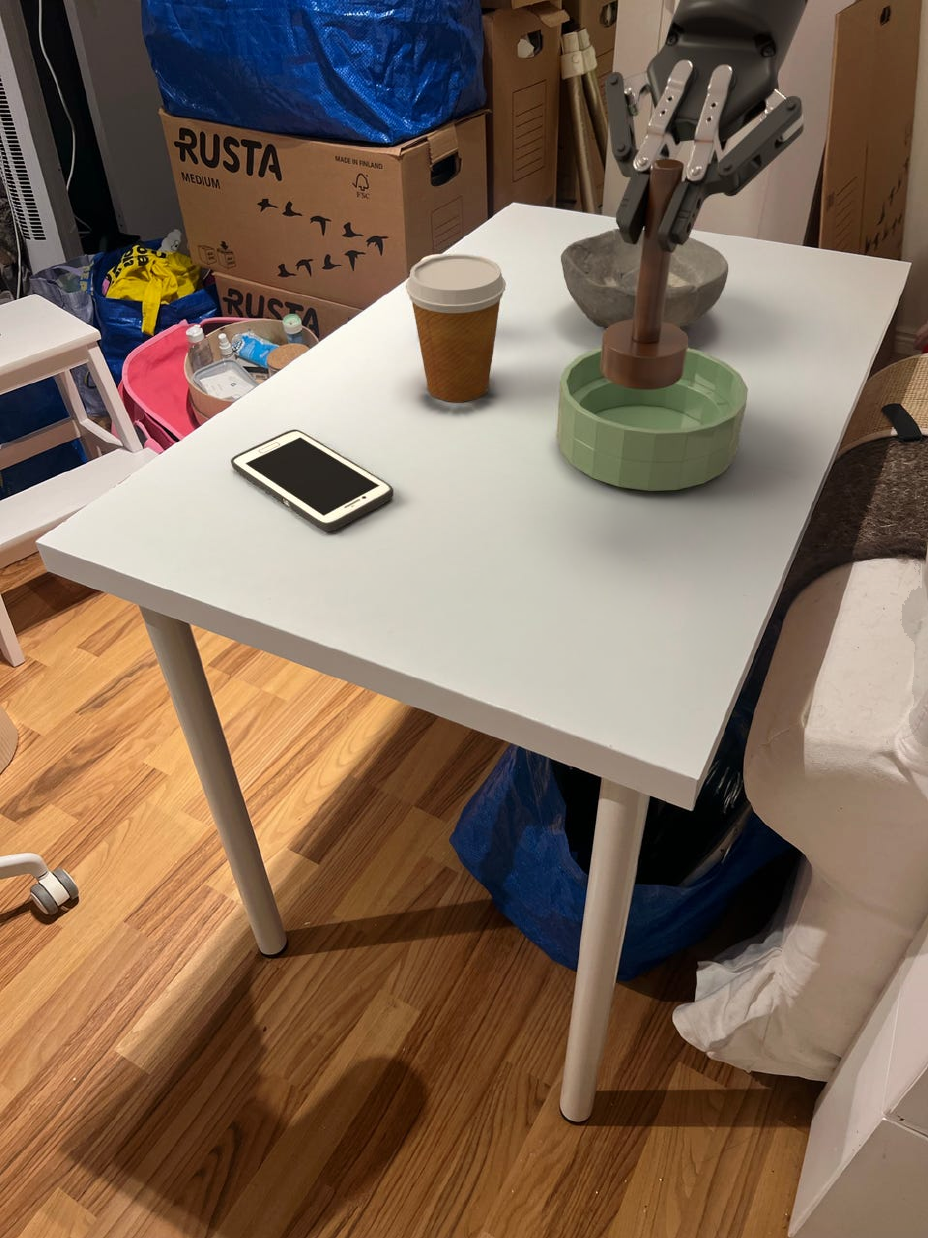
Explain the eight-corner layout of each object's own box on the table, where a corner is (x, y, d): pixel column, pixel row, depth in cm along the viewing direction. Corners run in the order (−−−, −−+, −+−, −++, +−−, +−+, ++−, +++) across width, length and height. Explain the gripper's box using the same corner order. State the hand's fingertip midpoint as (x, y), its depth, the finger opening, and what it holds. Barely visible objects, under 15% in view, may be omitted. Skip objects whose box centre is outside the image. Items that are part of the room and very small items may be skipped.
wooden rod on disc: (686, 354, 68) (720, 151, 58) (679, 394, 64) (713, 182, 54) (606, 346, 69) (626, 145, 60) (593, 384, 65) (612, 175, 55)
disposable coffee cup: (480, 358, 99) (480, 245, 90) (520, 397, 92) (523, 280, 84) (398, 376, 96) (390, 262, 88) (433, 418, 89) (427, 299, 81)
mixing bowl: (738, 414, 89) (751, 352, 85) (728, 510, 78) (742, 443, 73) (574, 395, 92) (578, 334, 88) (541, 483, 81) (544, 419, 77)
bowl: (751, 336, 101) (766, 264, 96) (620, 374, 95) (628, 300, 90) (652, 279, 113) (660, 212, 108) (530, 311, 107) (533, 241, 102)
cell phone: (296, 435, 87) (295, 426, 87) (398, 497, 80) (397, 488, 79) (228, 467, 83) (226, 458, 83) (328, 536, 76) (326, 527, 75)
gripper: (637, -74, 57) (532, 192, 58) (863, -60, 51) (742, 234, 52) (661, 12, 64) (567, 248, 65) (863, 33, 58) (756, 291, 59)
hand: (646, 241), depth 58 cm, fingers closed on wooden rod on disc
